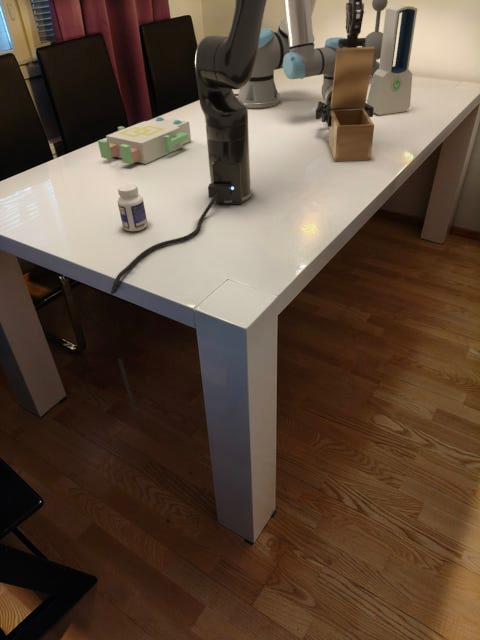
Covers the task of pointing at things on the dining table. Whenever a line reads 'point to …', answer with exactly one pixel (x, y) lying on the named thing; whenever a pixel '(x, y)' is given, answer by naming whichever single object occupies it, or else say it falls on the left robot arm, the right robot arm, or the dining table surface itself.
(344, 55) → the lid
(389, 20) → the electronic device
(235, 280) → the dining table surface
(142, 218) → the pill bottle
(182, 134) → the decorative block
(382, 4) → the molecular model
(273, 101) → the right robot arm
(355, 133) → the chest
